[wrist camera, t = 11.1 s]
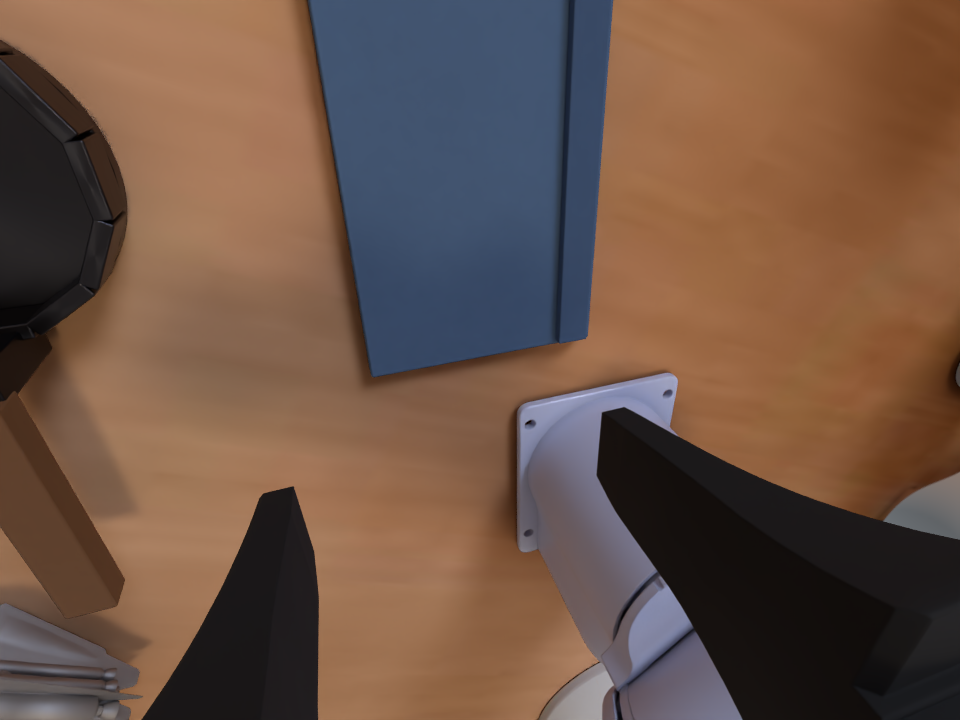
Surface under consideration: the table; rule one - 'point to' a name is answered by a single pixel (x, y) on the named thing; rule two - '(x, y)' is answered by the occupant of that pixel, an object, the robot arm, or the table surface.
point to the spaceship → (57, 673)
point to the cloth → (466, 169)
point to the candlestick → (580, 697)
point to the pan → (50, 314)
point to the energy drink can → (958, 375)
